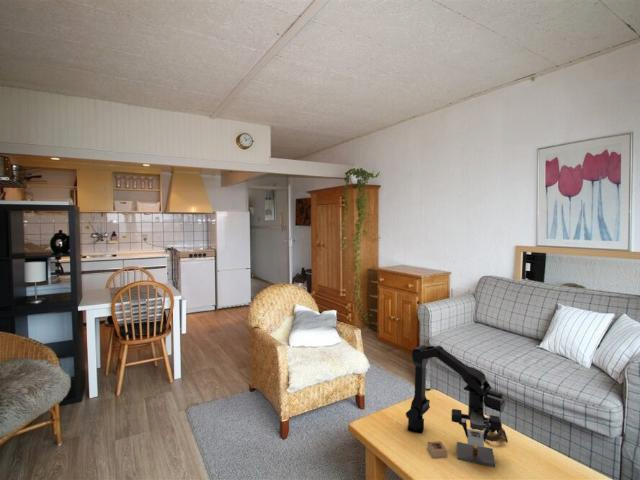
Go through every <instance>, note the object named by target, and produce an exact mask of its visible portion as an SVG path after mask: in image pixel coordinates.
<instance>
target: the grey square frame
mask: <svg viewBox="0 0 640 480" xmlns="http://www.w3.org/2000/svg"><path fill="white" fill-rule="evenodd" d="M483 432H484V431H480V430H476V429H471V428H467V433H468V438H467V437H466V438H467V439H466V440H467V444H469V445H474V446H479V447H485V441H484V437H483Z"/></svg>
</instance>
